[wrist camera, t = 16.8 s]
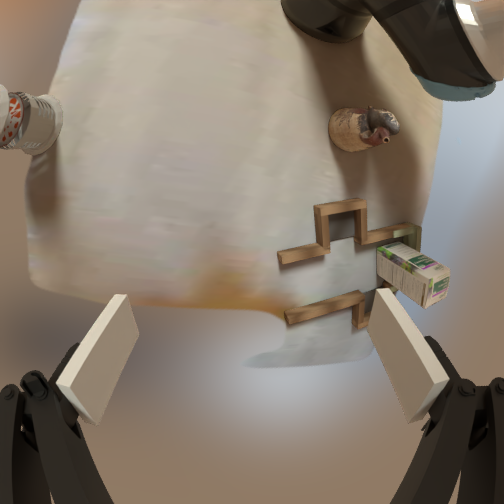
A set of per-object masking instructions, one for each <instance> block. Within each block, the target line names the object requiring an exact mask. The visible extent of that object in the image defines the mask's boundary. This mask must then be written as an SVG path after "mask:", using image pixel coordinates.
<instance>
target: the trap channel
mask: <svg viewBox="0 0 504 504" xmlns="http://www.w3.org/2000/svg"><path fill="white" fill-rule="evenodd" d="M314 216H315V228H316V241H317V243H313V244H309V245H304V246H300V247H295V248H291V249H286V250H282V251H277V255H278V259H279V261H280V262H281V263H282V264H287V263H291V262H295V261H299V260H304V259H308V258H312V257H316V256H320V255H324V254H329V253H330V241H333V240H337V239H341V238H346V237H350V236H354V241H355V242H357V243H358V244H360V245H365V244H369V243H373V242H377V241H381V240H385V239H389V238H396V237H400V236H403V244H404V245H406V246H408V247H410V248H412V249H414V250H416V251H418V252H420V248H421V247H420V246H421V231H422V227H420V226H417V225H414V224H412V223H409V222H406V223H402V224H398V225H393V226H389V227H384V228H380V229H376V230H371V231H367V204H366V200H363V199H360V198H355V199H349V200H343V201H337V202H331V203H325V204H319V205H314ZM383 288H389V289H390V290H391V292H392V293H393V294H394V292H395V291H398V289H397V288H396V287H394V286H393V285H391V284H390V283H389V282H387V281H383V287H380V288H377V289H383ZM375 293H376V289H374V290H371V291H368V292H365V293H362V292H360V291H359V290H356V291H353V292H350V293H346V294H343V295H340V296H337V297H333V298H330V299H327V300H323V301H320V302H316V303H313V304H309V305H306V306H302V307H299V308H295V309H291V310H288V311H284V315H285V318H286V320H287V322H288V323H289V325H290V324H293V323H297V322H300V321H304V320H307V319H311V318H314V317H317V316H321V315H324V314H327V313H330V312H334V311H337V310H340V309H343V308H346V307H349V306H352V305H353V308H352V324H353V325H354V326H355V327H356V328H357V329H360V328H363V327H366V326H368V323H369V319H370V315H371V312H370V311H372V307H373V302H374V298H375ZM367 312H368V313H367Z"/></svg>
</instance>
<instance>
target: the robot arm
mask: <svg viewBox="0 0 504 504" xmlns="http://www.w3.org/2000/svg"><path fill="white" fill-rule="evenodd" d="M281 3H282V7H283V9H284V11H285V13H286V15H287V16H288V17H289V19H290V20H291V21H292V22H293V23H294V24H295V25H296V26H297V27H298V28H300V29H301V30H302V31H304V32H305V33H307V34H309V35H311V36H313V37H315V38H317V39H320V40H323V41H326V42H331V43H344V42H348V41H350V40H352V39H354V38H356V37H357V36H359V35H360V34H361V33H362V32H363V31H364V30H365V28H366V26H367V25H368V23H369V21H370V20H371V18H372V16H374V18H375V19H376V20H377V21H378V23H379V24H380V25H381V26H382V28H383V29H384V30H385V31H386V33H387V34H388V35H389V37H390V38H391V39H392V41H393V42H394V44H395V45H396V46H397V48H398V49H399V51H400V52H401V54H402V55H403V57H404V58H405V60H406V61H407V63H408V64H409V66H410V70H411V72H412V73H413V74H414V75H415V76H416V77H417V79H418V80H419V82H420V83H421V85H422V87H423V88H424V89H425V91H426V92H428V93H429V94H430V95H431V96H433V97H435V98H438V99H441V100H446V101H470V100H475V98H476V97H479V98H482V97H485V96H487V95H489V94H491V93H492V92H493V91H494V88H495V85H496V84H495V83H496V81H502V80H503V78H504V0H483V1H479V2H473V1H471V0H281ZM367 331H368V333H369V335H370V337H371V339H372V342H373V344H374V346H375V348H376V350H377V352H378V354H379V356H380V359H381V361H382V363H383V365H384V367H385V370H386V372H387V374H388V376H389V379H390V381H391V383H392V386H393V388H394V390H395V392H396V395H397V397H398V400H399V402H400V404H401V407H402V410H403V412H404V414H405V417H406V419H407V422H408V423H412V422H415V421H418V420H421V419H423V418H424V416H425V415H426V413H427V412H429V414H430V419H429V420H428V421H427V423H426V424H425V425H424V426H423V428H422V429H421V430H422V431H423V430H424V429H425V431H424V433H423V436H422V439H421V441H420V444H419V446H418V449H417V451H416V453H415V456H414V458H413V460H412V462H411V464H410V466H409V468H408V471H407V473H406V475H405V477H404V479H403V481H402V483H401V484H400V486H399V488H398V490H397V492H396V494H395V496H394V497H393V499H392V501H391V502H390V504H448V503H449V501H450V498H451V496H452V493H453V491H454V488H455V485H456V482H457V479H458V477H459V474H460V471H461V477H460V485H459V492H458V498H457V504H504V379H503V378H500V377H498V378H495V379H493V380H492V381H491V383H490V384H489V386H476V385H475V384H474V383H473V382H472V381H470V380H468V379H461V377H460V376H459V374H458V373H457V371H456V369H455V368H454V366H453V365H452V363H451V362H450V360H449V359H448V357H446V354H445V353H444V351H442V348H441V347H440V345H439V344H438V342H437V341H436V340H434V339H433V338H432V337H430V336H425V337H423V336H422V334H421V333H420V331H419V330H418V328H417V327H416V325H415V324H414V323H413V321H412V320H411V318H410V317H409V315H408V314H407V312H406V311H405V309H404V308H403V307H402V306H401V304H400V303H399V301H398V300H397V298H396V297H395V296H394V294H393V293H392V292H391V290H390V289H389V288H383V289H376V293H375V298H374V302H373V307H372V311H371V315H370V319H369V323H368V327H367ZM138 336H139V331H138V328H137V325H136V322H135V319H134V316H133V313H132V309H131V306H130V303H129V299H128V296H127V295H121V294H115V295H114V297H113V298H112V299H111V301H110V302H109V304H108V305H107V306H106V308H105V309H104V311H103V312H102V313H101V315H100V316H99V317H98V319H97V320H96V322H95V323H94V325H93V326H92V328H91V329H90V330H89V332H88V333H87V335H86V336H85V338H84V339H83V341H82V342H81V343H76V344H75V345H73V346H72V347H71V348H70V349H69V350H68V352H67V353H66V355H65V358H63V359H62V361H61V363H60V364H59V365H58V367H57V368H56V370H55V372H54V373H53V375H52V377H51V378H50V380H49V381H48V382H47V380H46V378H45V377H44V375H43V374H42V373H41V372H40V371H36V370H34V371H30V372H28V373H27V374H25V375H24V376H23V378H22V379H21V382H20V386H21V387H22V389H23V390H24V391H25V392H21V391H20V390H19V388H18V387H17V386H16V385H14V384H9V385H6V386H5V387H4V388H3V389H2V390H1V392H0V504H52V503H51V496H50V492H51V495H52V497H53V500H54V503H55V504H114V503H113V501H112V499H111V498H110V495H109V493H108V491H107V489H106V487H105V485H104V483H103V481H102V479H101V477H100V475H99V473H98V471H97V468H96V466H95V464H94V461H93V459H92V457H91V454H90V452H89V449H88V447H87V444H86V441H85V438H84V436H83V433H82V430H81V427H80V424H79V423H78V421H77V418H78V416H79V415H80V416H81V418H82V419H83V420H84V421H85V422H87V423H90V424H93V425H97V426H98V425H99V423H100V420H101V418H102V416H103V413H104V411H105V408H106V406H107V404H108V401H109V399H110V397H111V394H112V392H113V390H114V387H115V385H116V383H117V381H118V379H119V376H120V374H121V372H122V370H123V368H124V366H125V363H126V361H127V359H128V357H129V355H130V353H131V351H132V349H133V346H134V344H135V342H136V340H137V338H138ZM21 426H22V427H23V430H22V431H21Z"/></svg>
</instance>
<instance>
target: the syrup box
mask: <svg viewBox="0 0 504 504" xmlns="http://www.w3.org/2000/svg"><path fill="white" fill-rule="evenodd" d="M377 274H378V275H379V276H380V277H382V278H383V279H384V280H386V281H387V282H389V283H390V284H391V285H393V286H394V287H396V288H397V289H398V290H400V291H401V292H403V293H404V294H405V295H407V296H408V297H409V298H411V299H412V300H413V301H415V302H416V303H417V304H418V305H420V306H421V307H422V308H424V309H426V308H427V307H429V306H430V305H433V304H435V303H437V302H439V301H440V300H442V299H444V298H445V297H446V294H447V291H448V287H449V280H450V269H449V268H447V267H446V266H444V265H442V264H440V263H438V262H437V261H435V260H433V259H431V258H429V257H427V256H425V255H423V254H422V253H420V252H418V251H416V250H414V249H412V248H410V247H408V246H406V245H404V244H402V243H400V242H398V241H397V242H394V243H391V244H388V245H384V246H381V247H378V248H377Z"/></svg>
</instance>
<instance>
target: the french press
mask: <svg viewBox="0 0 504 504" xmlns="http://www.w3.org/2000/svg"><path fill="white" fill-rule="evenodd" d="M21 93H22V92H17V93H8V91H7V89H5V87H4V86H3V85H2V84H0V148H1V149H6V148H9V147H8V146H7V145H9V146H10V147H11V148H9V149H22V150H23V151H24V152H25V153H27V154H30V155H37V154H41V153H43V152H45V151H46V150H47V149H48V148H50V147H51V146H52V145H53V143H54V141H55V140H56V138H57V137H58V135H59V132H60V129H61V126H62V123H63V110H62V107H61V105H60V102H59V101H58V100H57V99H56V98H55V97H54V96H51V95H45V94H44V95H41V96H39V97H36V98H35V96H32V97H31V95H29V94H26V93H24V94H22V95H18V94H21ZM23 95H26V96H25V97H23V98H21V96H23ZM26 97H28V98H27V99H26V100H25V101H24V100H23V99H25V98H26ZM28 100H29V102H28ZM13 139H14V141H15V143H16V145H14V143H13ZM10 142H11V144H12V145H13V146H14V147H13V146H11V145H10V144H9V143H10ZM3 146H5V147H6V148H4V147H3Z"/></svg>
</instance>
